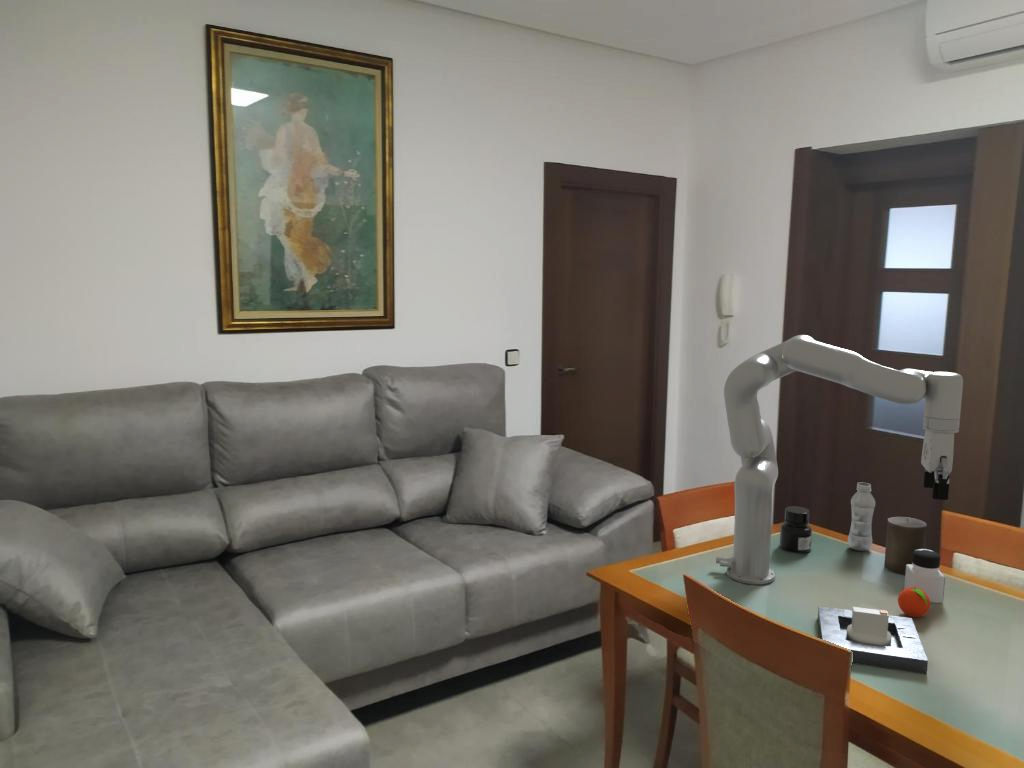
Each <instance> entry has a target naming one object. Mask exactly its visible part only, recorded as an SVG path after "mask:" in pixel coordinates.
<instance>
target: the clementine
mask: <svg viewBox="0 0 1024 768" xmlns="http://www.w3.org/2000/svg"><path fill="white" fill-rule="evenodd" d="M897 603H898V604H897V605H898V607H899V608H900V611H902V612H903V613H904V614H905V615H907V616H909V617H913V618H921V617H924V616H925V615H926V614H927V613H929V611H930V609H931V602H930V599H929V597H928V596H927V594H926V593H925V592H924V591H922V590H921V589H919V588H915V587H909V588H906V589H903V590H902V591H901V592H900V593H899V594H898V597H897Z"/></svg>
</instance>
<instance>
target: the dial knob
mask: <svg viewBox="0 0 1024 768" xmlns="http://www.w3.org/2000/svg"><path fill="white" fill-rule="evenodd" d="M852 611H853V612H852V624H850V625H849V626H848V627H847V637H848V639H849V640H850V641H854V642H861V643H868V644H875V645H883V646H890V645H891V638H892V636H891V634H890V632H889V631H888V619H889V615H890V614H889V613H888V610H885V609H875V608H865V607H858V606H852Z"/></svg>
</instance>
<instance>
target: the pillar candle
mask: <svg viewBox="0 0 1024 768" xmlns="http://www.w3.org/2000/svg"><path fill="white" fill-rule="evenodd" d="M886 526H887V528H886V529H887V530H886V537H885V538H886V539H885V549H884V550H885V554H884V564H883V566H884V569H886V570H887V571H889V572H892V573H894V574H898V575H903V576H905V574H906V565H907V564H912V562H913V552H914V551H915V550H918V549H926V541H927V539H926V538H927V526H928V525H927V523H926V522H925V521H923V520H921V519H918V518H915V517H914V518H912V517H908V516H893V517H891V516H890V517H889V518H888V517H887V525H886Z"/></svg>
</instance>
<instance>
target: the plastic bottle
mask: <svg viewBox="0 0 1024 768" xmlns="http://www.w3.org/2000/svg"><path fill="white" fill-rule="evenodd" d="M856 490H857V492H855V493H854V495H852V497H851V499H850V505H851V506H850V508H851V525H850V530H849V534H848V537H847V543H848V544H847V545H848V546H849V548H850V549H852V550H855V551H860V552H861V551H862V552H864V551H865V552H866V551H869V550H870V549H872V546H873V536H872V523H873V515H874V511H875V508H876V500H875V498H874V496H873V495H872V493H871V492H872V484H871V483H867V482H857V484H856Z"/></svg>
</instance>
